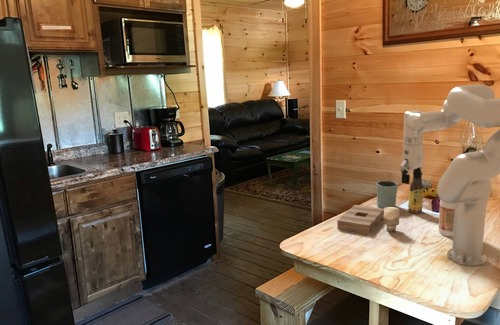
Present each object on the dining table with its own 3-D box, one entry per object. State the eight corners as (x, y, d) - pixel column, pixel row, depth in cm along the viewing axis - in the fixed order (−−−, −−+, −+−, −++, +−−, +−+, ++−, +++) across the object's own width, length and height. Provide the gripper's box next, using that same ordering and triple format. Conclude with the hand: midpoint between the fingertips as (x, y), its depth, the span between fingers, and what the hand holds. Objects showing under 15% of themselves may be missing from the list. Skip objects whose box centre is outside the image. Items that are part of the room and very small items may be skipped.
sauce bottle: (413, 214, 186) (415, 173, 181) (405, 210, 192) (406, 170, 187) (425, 212, 187) (427, 172, 183) (416, 208, 193) (418, 169, 189)
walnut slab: (368, 234, 168) (369, 225, 167) (337, 228, 176) (337, 220, 175) (384, 217, 185) (384, 208, 184) (354, 212, 193) (354, 204, 192)
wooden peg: (396, 234, 166) (397, 213, 164) (381, 231, 170) (382, 210, 167) (400, 229, 171) (401, 208, 169) (385, 226, 174) (386, 206, 172)
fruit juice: (433, 230, 167) (436, 166, 161) (451, 227, 170) (455, 163, 164) (450, 239, 159) (454, 171, 152) (469, 235, 161) (474, 168, 155)
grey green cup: (379, 201, 206) (379, 179, 203) (399, 204, 200) (400, 181, 197) (373, 207, 198) (373, 184, 195) (394, 211, 192) (394, 187, 189)
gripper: (411, 145, 155) (409, 187, 159) (431, 138, 166) (429, 177, 170) (393, 143, 161) (392, 183, 165) (414, 136, 172) (412, 174, 176)
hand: (411, 180), depth 168 cm, fingers open, 9 cm apart
